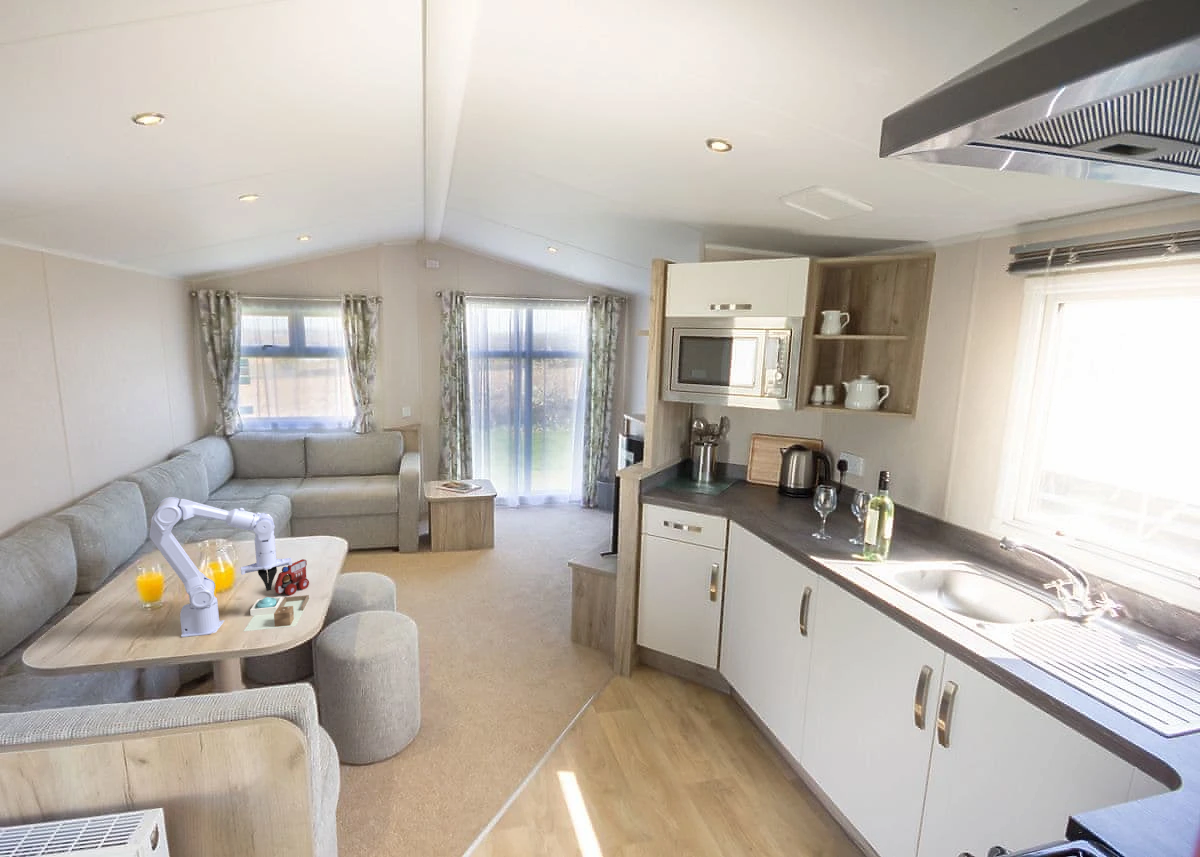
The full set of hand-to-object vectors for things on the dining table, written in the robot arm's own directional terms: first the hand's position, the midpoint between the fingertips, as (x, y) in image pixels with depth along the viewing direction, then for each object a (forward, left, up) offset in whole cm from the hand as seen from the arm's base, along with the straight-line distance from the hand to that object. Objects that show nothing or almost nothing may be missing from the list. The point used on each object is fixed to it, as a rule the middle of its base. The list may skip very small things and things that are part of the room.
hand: (268, 589), depth 184 cm
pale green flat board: (+2, 0, -9) cm, 10 cm away
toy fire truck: (+2, +19, -10) cm, 21 cm away
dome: (-2, +4, -8) cm, 9 cm away
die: (+6, -7, -9) cm, 13 cm away
